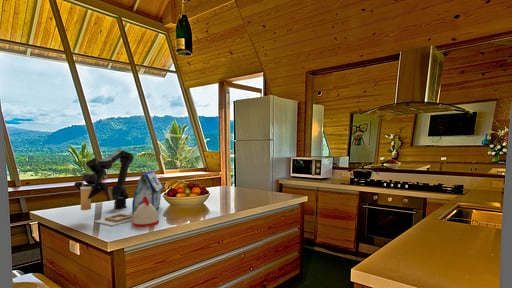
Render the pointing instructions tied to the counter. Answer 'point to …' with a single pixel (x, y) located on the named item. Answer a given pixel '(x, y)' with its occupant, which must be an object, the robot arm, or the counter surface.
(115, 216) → the socket board
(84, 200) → the beige cylinder
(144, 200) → the kitchen timer
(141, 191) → the lunch bag
